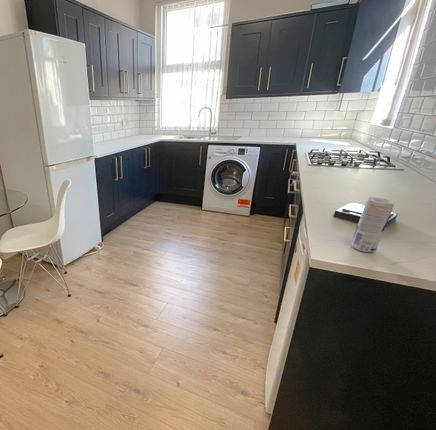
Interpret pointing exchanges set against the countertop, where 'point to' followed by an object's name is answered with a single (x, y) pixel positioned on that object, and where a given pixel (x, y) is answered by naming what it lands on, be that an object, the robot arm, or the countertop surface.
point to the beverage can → (372, 224)
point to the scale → (357, 213)
